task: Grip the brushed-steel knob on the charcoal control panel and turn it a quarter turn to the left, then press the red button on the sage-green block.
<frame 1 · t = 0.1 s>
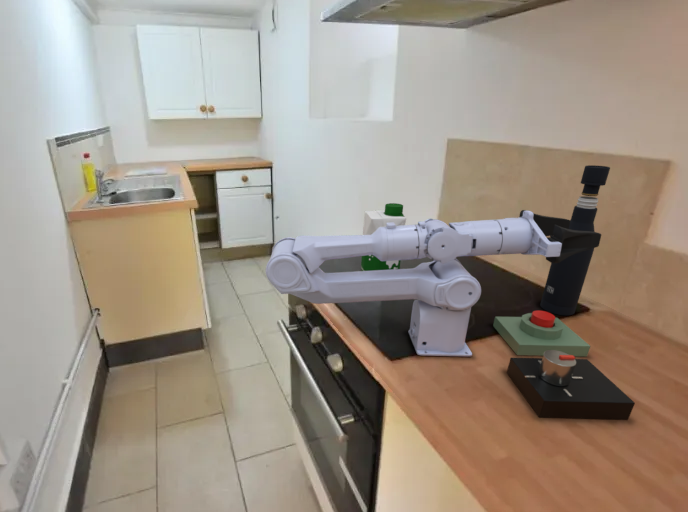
hand: (582, 232, 60), 22 cm above the worktop, tool horizontal, fingers open, 7 cm apart
button block: (536, 340, 71), on the worktop
red button: (542, 319, 69), point 4 cm above the worktop, slide at 0.1 cm
milk carton: (378, 285, 94), on the worktop
control panel: (562, 394, 57), on the worktop
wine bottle: (556, 309, 82), on the worktop
dial knob: (556, 366, 55), point 5 cm above the worktop, hinge at 0.0°
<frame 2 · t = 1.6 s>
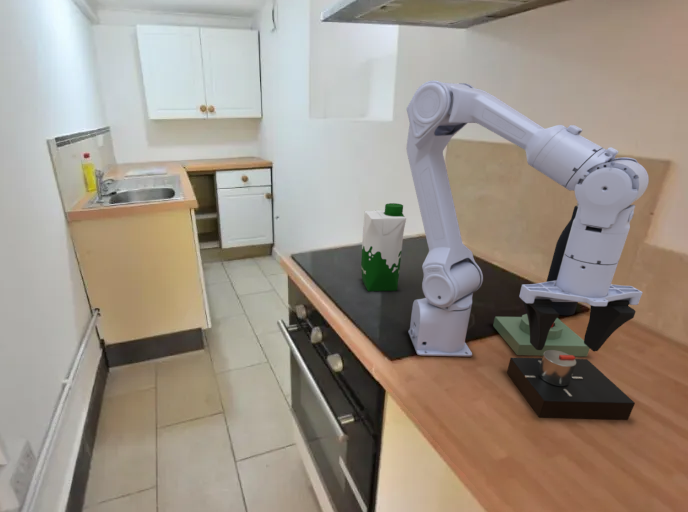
hand: (563, 346, 54), 8 cm above the worktop, tool pointing down, fingers open, 7 cm apart
nothing on the worktop moved.
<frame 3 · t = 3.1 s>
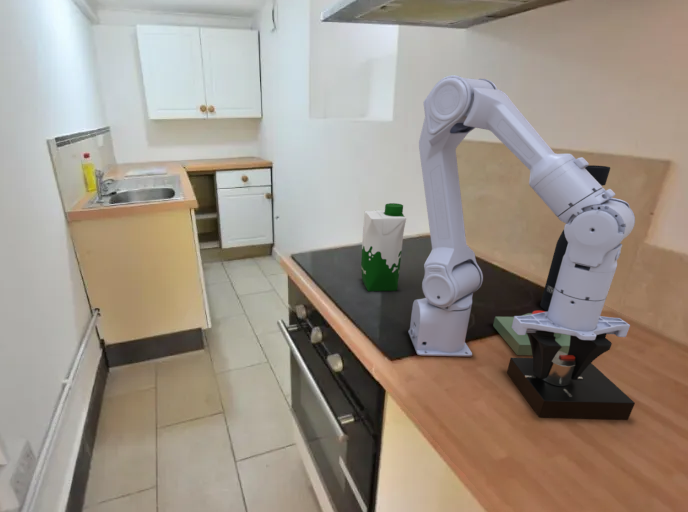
hand: (554, 375, 56), 4 cm above the worktop, tool pointing down, fingers closed on dial knob, 4 cm apart
dial knob: (556, 366, 55), point 5 cm above the worktop, hinge at -0.1°, touching gripper
everything else where it was.
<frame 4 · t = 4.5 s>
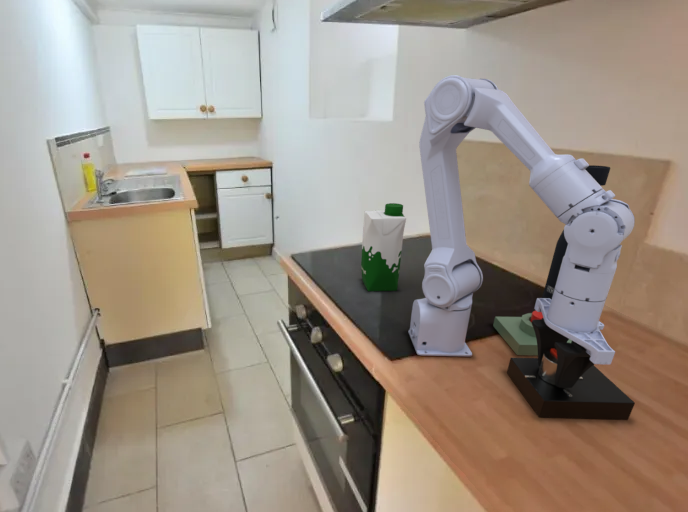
hand: (554, 375, 56), 3 cm above the worktop, tool pointing down, fingers closed on dial knob, 4 cm apart
dial knob: (556, 366, 55), point 5 cm above the worktop, hinge at 89.2°, touching gripper
everything else where it was.
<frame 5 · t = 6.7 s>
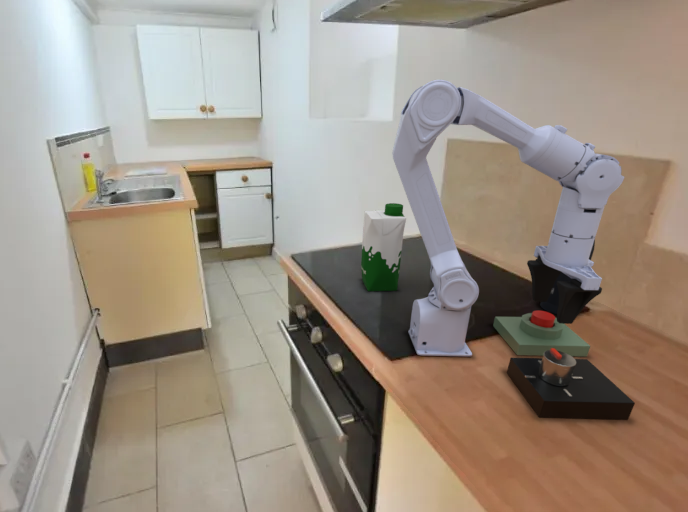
hand: (551, 311, 64), 8 cm above the worktop, tool pointing down, fingers open, 7 cm apart
dial knob: (556, 366, 55), point 5 cm above the worktop, hinge at 89.7°
everything else where it was.
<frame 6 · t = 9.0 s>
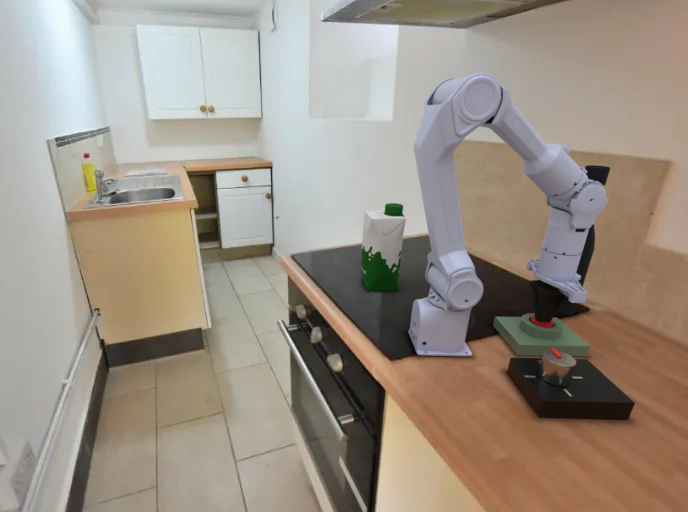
hand: (542, 320, 69), 4 cm above the worktop, tool pointing down, fingers closed, pressing on red button
red button: (541, 324, 69), point 3 cm above the worktop, slide at -1.0 cm, touching gripper
everything else where it was.
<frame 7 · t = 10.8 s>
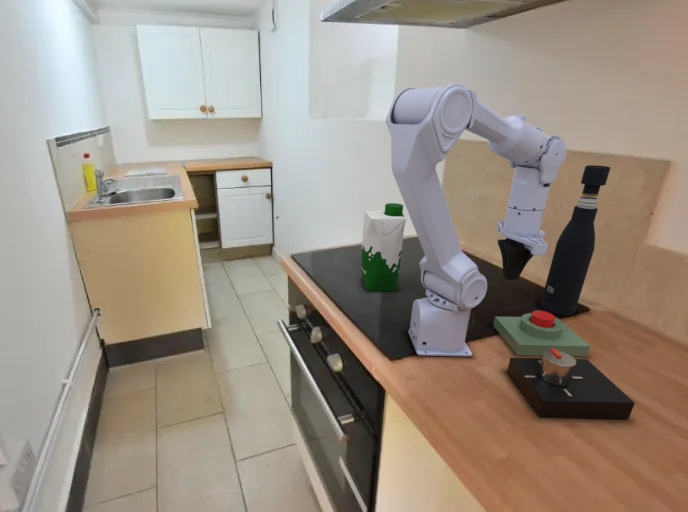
hand: (510, 278, 72), 10 cm above the worktop, tool pointing down, fingers closed
red button: (542, 319, 69), point 4 cm above the worktop, slide at 0.1 cm
everything else where it was.
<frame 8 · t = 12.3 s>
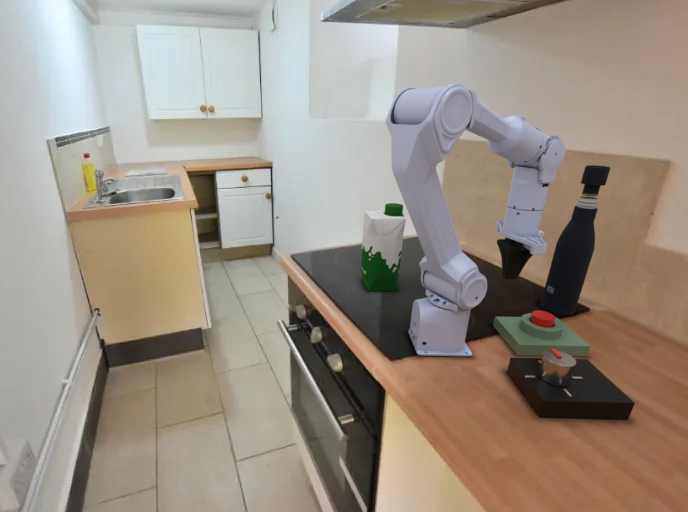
hand: (509, 278, 72), 10 cm above the worktop, tool pointing down, fingers closed
nothing on the worktop moved.
at the end: dial knob at +90° (first picture: +0°); red button pushed in 1.2 cm at the most during the clip, back to where it started at the end; red button slide at 0.1 cm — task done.
